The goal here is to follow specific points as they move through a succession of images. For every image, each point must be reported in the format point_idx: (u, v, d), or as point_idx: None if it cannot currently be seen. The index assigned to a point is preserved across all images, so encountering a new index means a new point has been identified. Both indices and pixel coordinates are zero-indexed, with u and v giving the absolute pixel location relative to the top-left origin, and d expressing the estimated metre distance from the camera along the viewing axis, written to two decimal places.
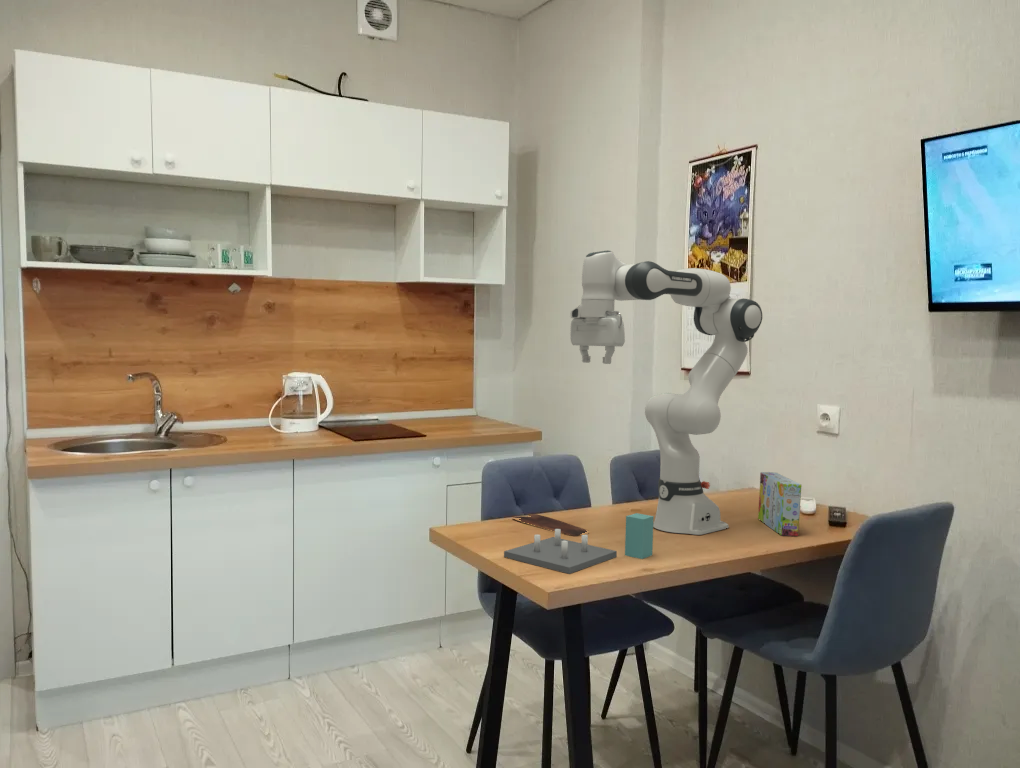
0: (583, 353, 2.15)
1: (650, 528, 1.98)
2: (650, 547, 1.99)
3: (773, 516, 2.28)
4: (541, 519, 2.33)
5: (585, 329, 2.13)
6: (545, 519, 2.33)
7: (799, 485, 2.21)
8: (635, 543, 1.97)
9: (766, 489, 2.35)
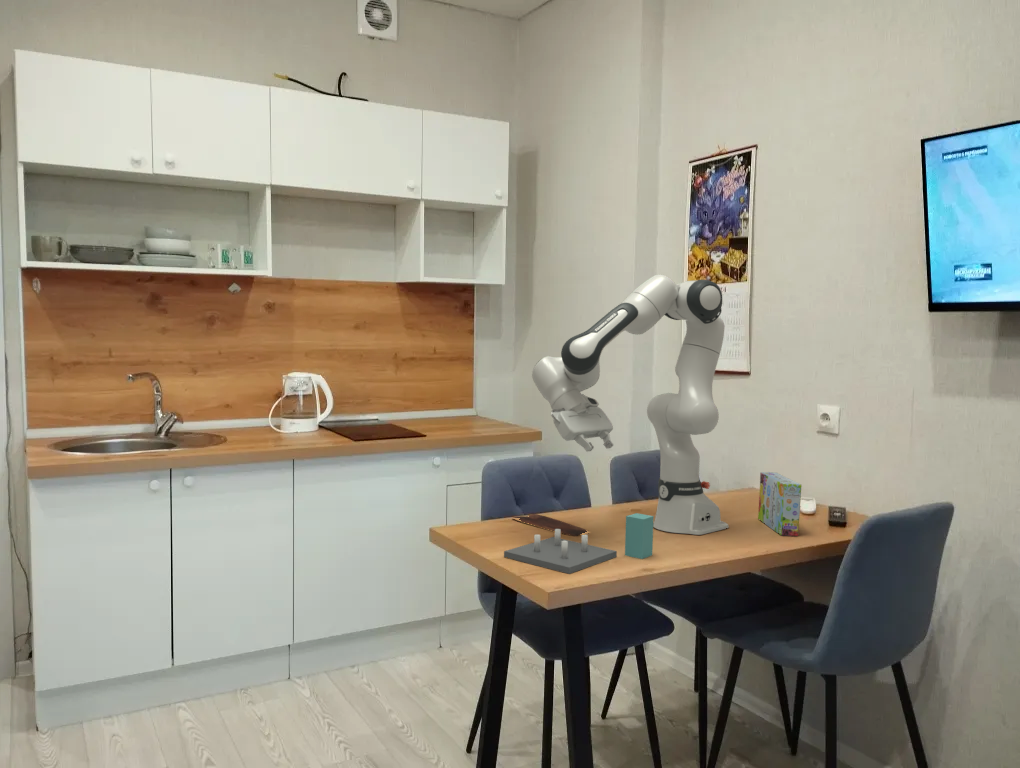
0: (604, 441, 2.11)
1: (650, 528, 1.98)
2: (650, 547, 1.99)
3: (773, 516, 2.28)
4: (541, 519, 2.33)
5: None
6: (545, 519, 2.33)
7: (799, 485, 2.21)
8: (635, 543, 1.97)
9: (766, 489, 2.35)
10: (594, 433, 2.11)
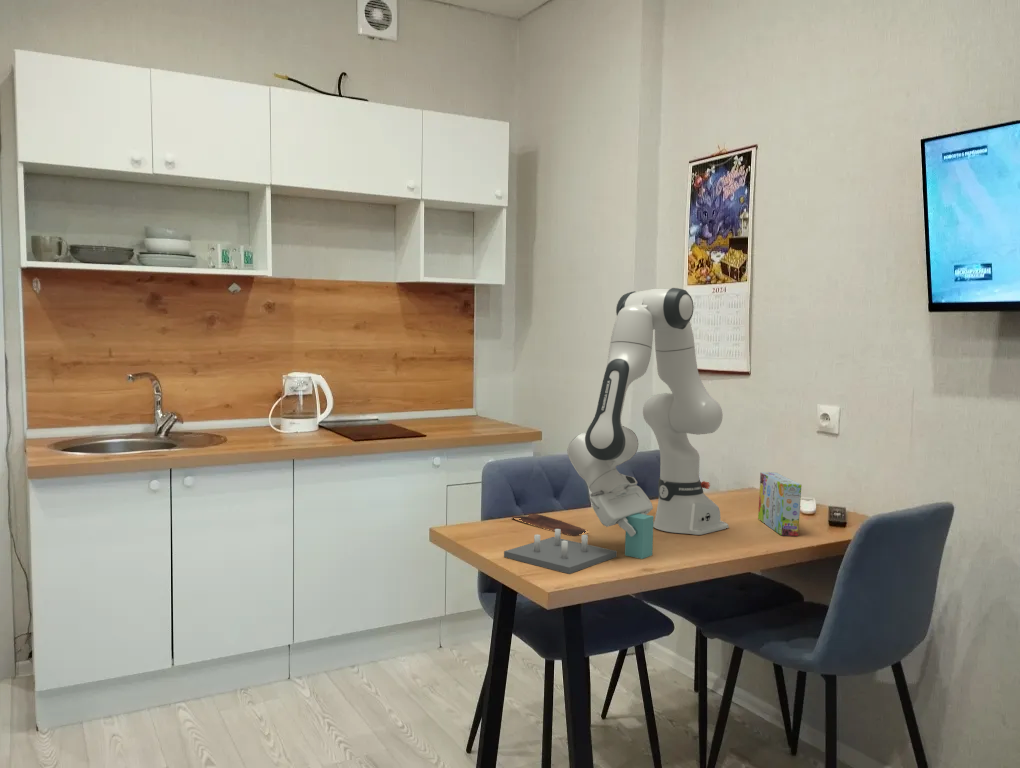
0: None
1: (650, 528, 1.98)
2: (650, 547, 1.99)
3: (773, 516, 2.28)
4: (541, 519, 2.33)
5: None
6: (545, 519, 2.33)
7: (799, 485, 2.21)
8: (635, 542, 1.97)
9: (766, 489, 2.35)
10: None
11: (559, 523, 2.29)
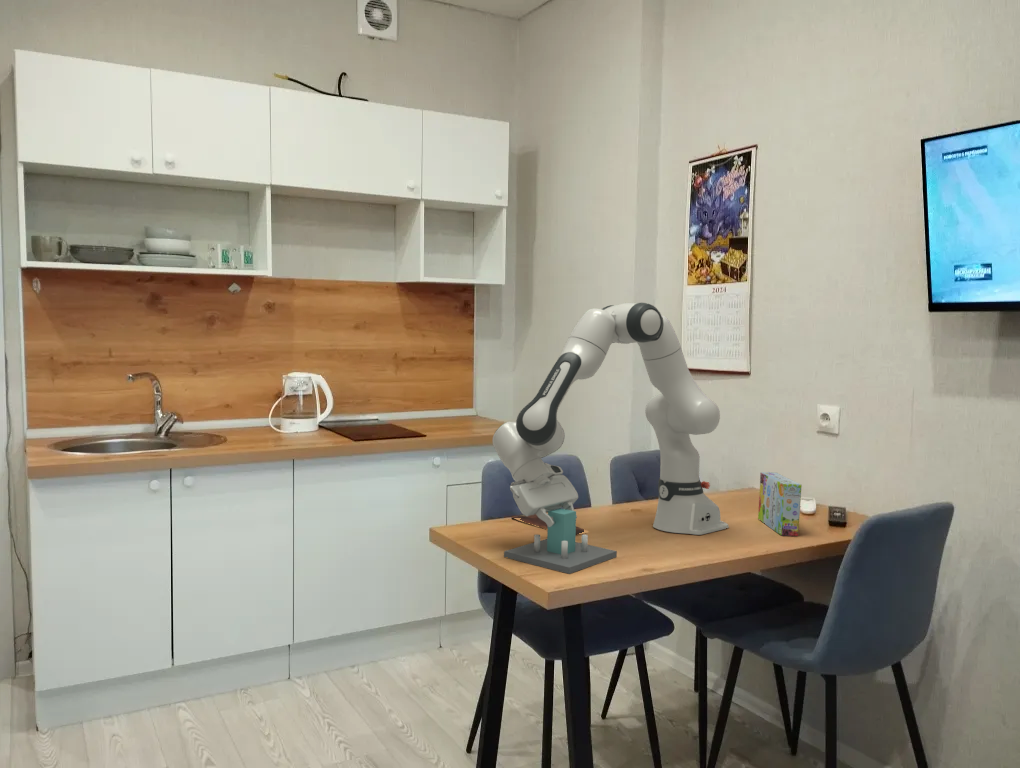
0: None
1: (572, 523, 1.95)
2: (573, 543, 1.95)
3: (773, 516, 2.28)
4: None
5: None
6: None
7: (799, 485, 2.21)
8: (557, 538, 1.93)
9: (766, 489, 2.35)
10: (557, 504, 2.00)
11: None
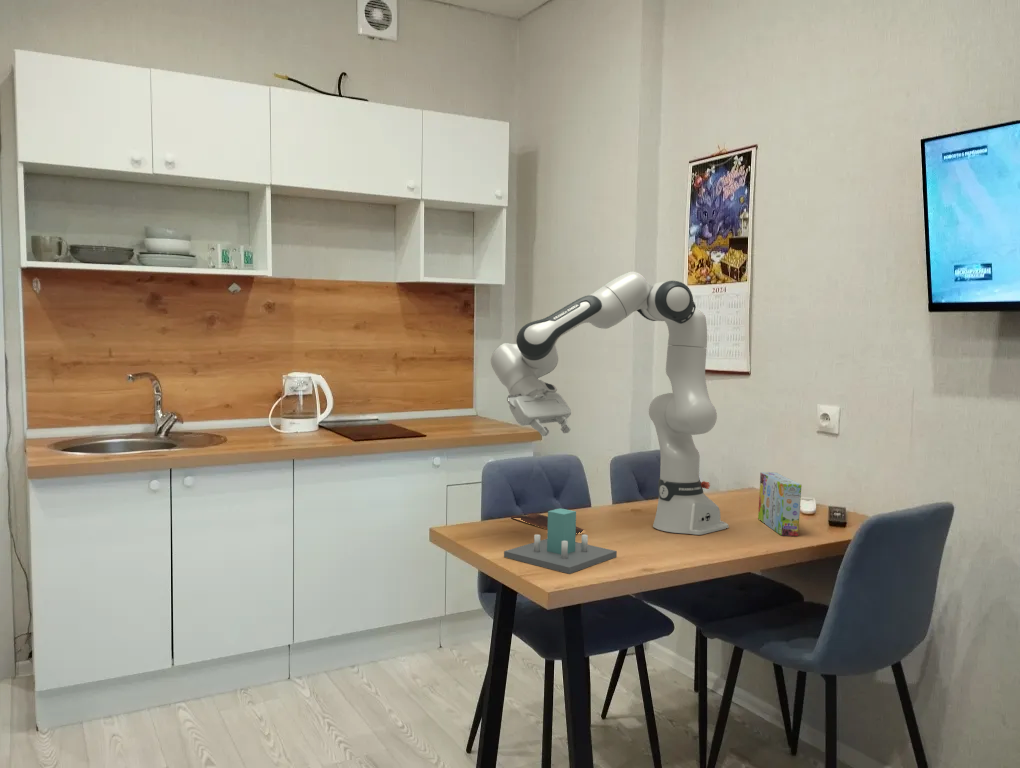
0: (562, 426, 2.13)
1: (572, 523, 1.95)
2: (573, 543, 1.95)
3: (773, 516, 2.28)
4: (539, 518, 2.34)
5: None
6: (543, 518, 2.34)
7: (799, 485, 2.21)
8: (557, 538, 1.93)
9: (766, 489, 2.35)
10: (551, 418, 2.13)
11: None
